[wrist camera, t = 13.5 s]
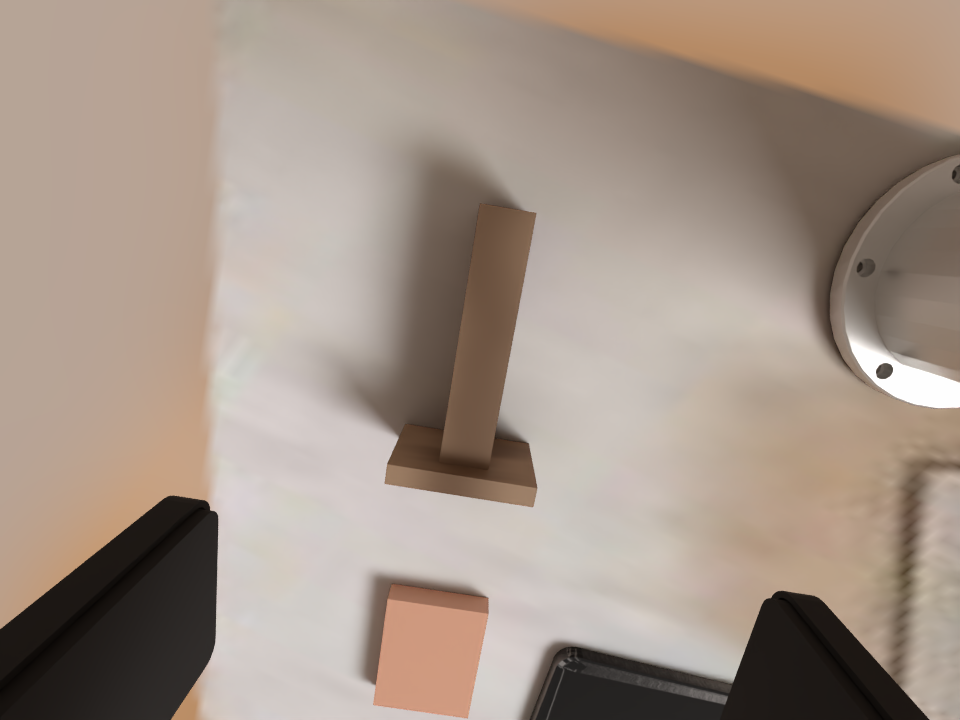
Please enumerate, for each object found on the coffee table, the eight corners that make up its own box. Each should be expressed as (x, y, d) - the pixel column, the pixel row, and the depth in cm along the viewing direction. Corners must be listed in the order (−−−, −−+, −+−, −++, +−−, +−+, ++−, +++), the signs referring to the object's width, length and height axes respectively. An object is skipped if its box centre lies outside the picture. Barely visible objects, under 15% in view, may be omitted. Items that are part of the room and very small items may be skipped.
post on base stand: (574, 224, 24) (595, 221, 19) (525, 459, 27) (533, 507, 22) (435, 200, 24) (422, 191, 19) (403, 439, 27) (384, 483, 22)
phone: (561, 653, 30) (788, 708, 30) (558, 638, 31) (778, 692, 31) (524, 747, 32) (738, 796, 32) (523, 730, 33) (730, 778, 33)
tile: (488, 613, 28) (467, 718, 30) (488, 593, 30) (468, 693, 32) (387, 599, 28) (373, 705, 30) (392, 579, 30) (379, 680, 32)
